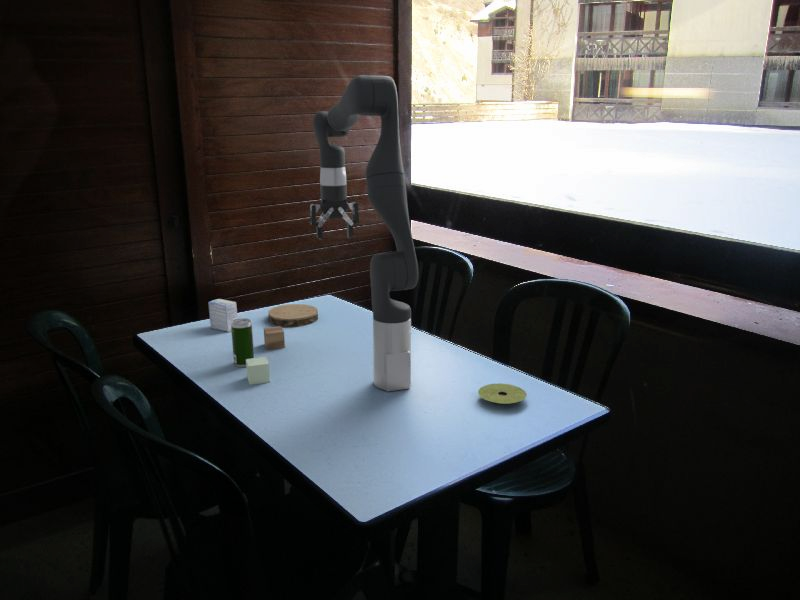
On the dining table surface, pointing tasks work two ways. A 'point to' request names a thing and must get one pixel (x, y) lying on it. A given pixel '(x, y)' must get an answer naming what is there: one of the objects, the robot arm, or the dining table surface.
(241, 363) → the beer can
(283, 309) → the round wood slice
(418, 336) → the dining table surface
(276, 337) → the walnut block
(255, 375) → the sage block
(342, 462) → the dining table surface
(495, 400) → the olive yellow disc
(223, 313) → the medicine box
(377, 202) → the robot arm
